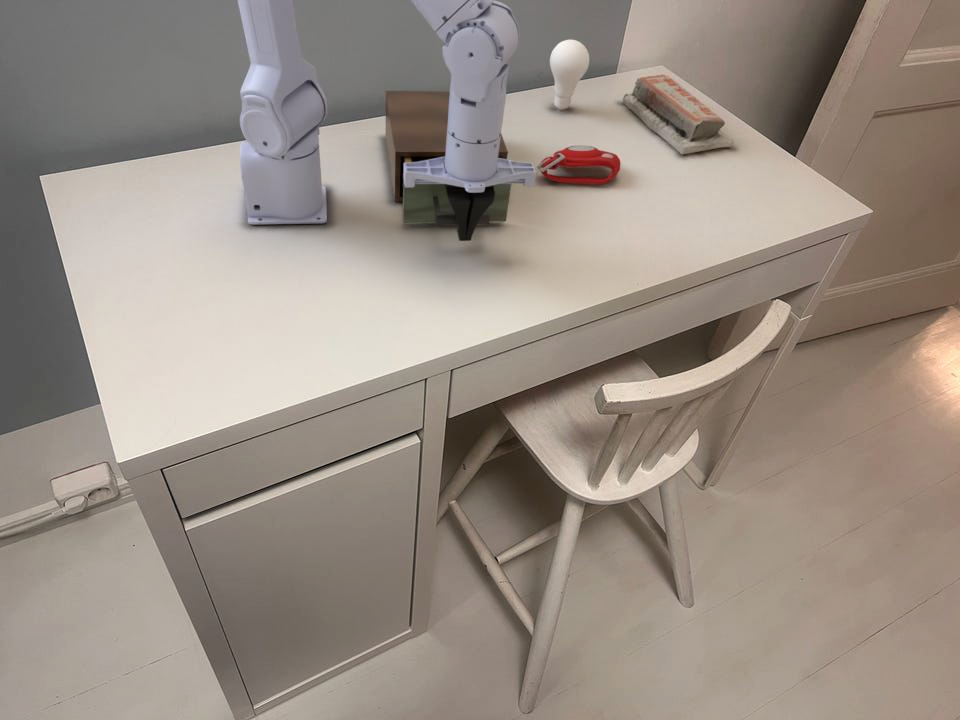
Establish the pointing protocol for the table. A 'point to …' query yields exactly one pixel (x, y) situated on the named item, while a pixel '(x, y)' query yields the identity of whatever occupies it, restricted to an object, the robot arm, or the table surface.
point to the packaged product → (676, 115)
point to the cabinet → (417, 129)
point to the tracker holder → (580, 164)
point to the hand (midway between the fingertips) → (463, 235)
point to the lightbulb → (567, 69)
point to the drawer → (444, 201)
